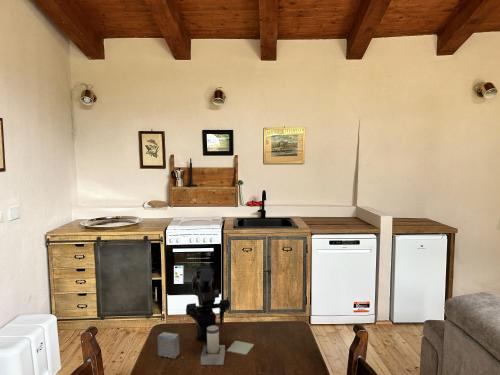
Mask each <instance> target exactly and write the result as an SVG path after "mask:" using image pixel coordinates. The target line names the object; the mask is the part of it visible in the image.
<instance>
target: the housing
mask: <svg viewBox="0 0 500 375" xmlns="http://www.w3.org/2000/svg"><path fill="white" fill-rule="evenodd" d="M225 355H226V344H219V354H207V344H206V345H203V346H202V351H201V355H200V365H201V366H223V365H225V364H224V363H225V357H226V356H225Z"/></svg>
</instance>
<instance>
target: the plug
mask: <svg viewBox="0 0 500 375" xmlns="http://www.w3.org/2000/svg"><path fill="white" fill-rule="evenodd" d="M206 345H207V354H219V345H220V327H219V326H218V325H216V324H215V325H212V326H209V327H207V341H206Z"/></svg>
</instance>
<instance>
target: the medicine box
mask: <svg viewBox="0 0 500 375" xmlns="http://www.w3.org/2000/svg"><path fill="white" fill-rule="evenodd" d="M179 335H180V334H179V333H171V332H165V331H163V332H162V333H160V334H159V335H157V356H158V357H162V356H163V358H167V357H168V358H169V359H176V358H177V356H179V355H180V336H179Z"/></svg>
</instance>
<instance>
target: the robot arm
mask: <svg viewBox="0 0 500 375" xmlns="http://www.w3.org/2000/svg"><path fill="white" fill-rule="evenodd" d="M194 273H195V274H194V275H195V276H193V278H192V279H191V291H192V292H193V295H194V296H196V297H197V301H198V302H197V303H198V305H197V303H196V302H195V303H193V302H192V303H187V304H186V305H185V306H186V307H185V315H186V316H189V317H190V318H192V319H193V320H194V322H195V326H196V328H197V337H196V338H195V339H196V340H197V341H203V342H207V327H209V326H212V325H215V326H216V322H217V314H216V313H215V312H214V309H219V312H218V313H219V324H220V326H222V325H223V321H224V315H225V313H226V312H227V311H228V310H230V307H231V300H229V299H227V298H226V299H220V300H219V303H217V302H216V299H217V298H220V292H219V289H214V290H213V288H212V283H213V278H214V276H215V271H214V269H213V268H211V266H210V265H207V266H197V267H196V269H195V271H194Z"/></svg>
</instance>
